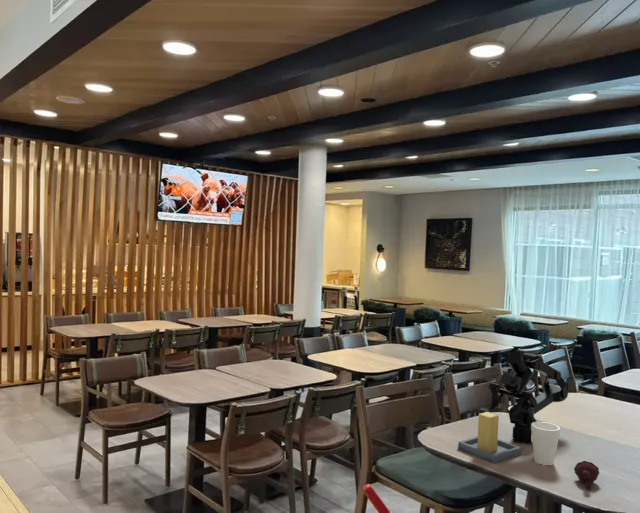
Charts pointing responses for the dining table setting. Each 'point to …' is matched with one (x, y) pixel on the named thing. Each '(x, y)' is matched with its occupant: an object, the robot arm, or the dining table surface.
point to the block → (487, 432)
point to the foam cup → (545, 442)
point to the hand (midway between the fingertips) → (501, 412)
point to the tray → (502, 453)
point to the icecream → (586, 472)
